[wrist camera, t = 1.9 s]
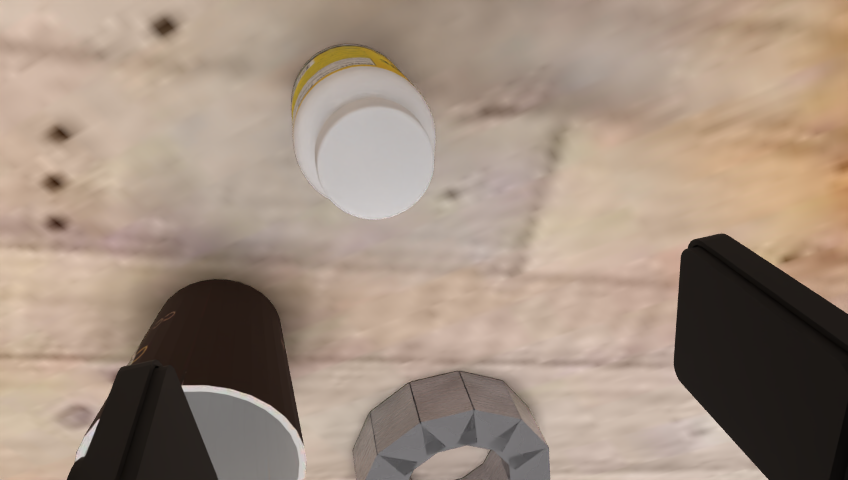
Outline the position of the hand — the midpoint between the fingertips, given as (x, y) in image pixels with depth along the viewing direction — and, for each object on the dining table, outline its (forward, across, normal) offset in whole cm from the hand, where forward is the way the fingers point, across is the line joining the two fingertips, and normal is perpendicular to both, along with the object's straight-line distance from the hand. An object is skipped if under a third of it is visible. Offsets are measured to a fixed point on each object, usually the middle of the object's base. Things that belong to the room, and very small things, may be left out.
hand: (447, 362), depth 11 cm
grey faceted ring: (+20, -2, +23) cm, 31 cm away
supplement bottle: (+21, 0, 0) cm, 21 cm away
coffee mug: (+21, +10, +12) cm, 26 cm away
